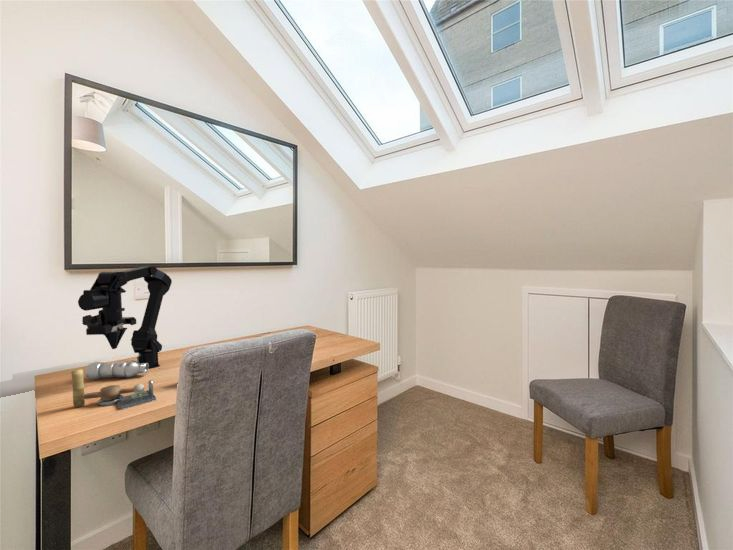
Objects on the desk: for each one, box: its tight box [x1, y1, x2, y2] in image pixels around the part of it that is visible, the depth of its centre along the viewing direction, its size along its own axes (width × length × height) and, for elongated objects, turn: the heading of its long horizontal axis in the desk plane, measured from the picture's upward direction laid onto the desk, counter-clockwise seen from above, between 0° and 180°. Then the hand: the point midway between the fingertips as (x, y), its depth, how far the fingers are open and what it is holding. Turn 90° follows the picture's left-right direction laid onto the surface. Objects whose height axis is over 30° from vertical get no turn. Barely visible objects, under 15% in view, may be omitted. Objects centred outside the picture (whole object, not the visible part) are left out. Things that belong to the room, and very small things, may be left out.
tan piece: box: [71, 368, 145, 408], centre depth 106 cm, size 18×5×11 cm, turn 113°
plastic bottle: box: [84, 359, 150, 381], centre depth 128 cm, size 6×7×20 cm
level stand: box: [97, 380, 157, 410], centre depth 107 cm, size 14×12×5 cm
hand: (114, 348), depth 124 cm, fingers closed
